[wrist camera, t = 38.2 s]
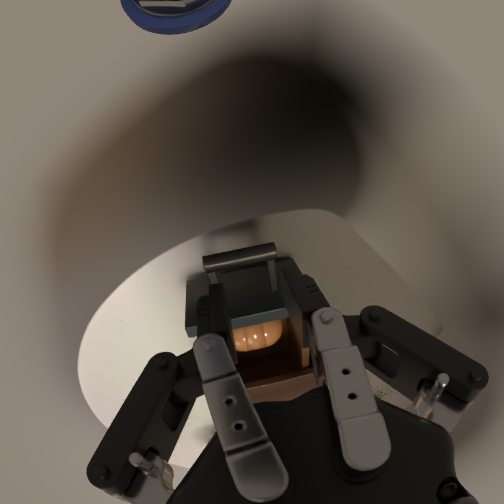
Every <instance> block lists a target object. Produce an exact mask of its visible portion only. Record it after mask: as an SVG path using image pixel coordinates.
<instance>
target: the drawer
mask: <svg viewBox="0 0 504 504" xmlns="http://www.w3.org/2000/svg"><path fill="white" fill-rule="evenodd" d="M276 258H277V250H276V246H275V244H274V242H271V243H266V244H261V245H256V246H251V247H246V248H242V249H237V250H232V251H227V252H222V253H217V254H212V255H207V256H203V258H202V259H203V265H204V269H205V272H206V273H209V276H208V277H203V278H198V279H193V280H188V281H187V285H186V310H185V329H186V332H187V334H188V337H189V338H190V337H196V336H197V308H196V303H197V301H198V300H199V298H200V296H204V295H209V287H208V285H210V284H215V283H220V282H222V283H223V287H224V291H225V295H226V299H227V303H228V307H229V312H230V317H231V323H232V329H238V328H243V327H248V326H252V325H257V324H261V323H266V322H270V321H275V320H279V319H281V320H282V323H283V331H282V335H281V337H280V338H279V340H278V341H277V342H276V343H275V344H273V345H271V346H269V347H265V348H261V349H256V350H252V351H246V352H241V351H236V352H237V357H238V363H239V364H234V365H235V368H236V370H238V372H239V374H240V376H241V379H242V381H243V383H249V382H254V381H259V380H263V379H268V378H272V377H276V376H280V375H284V374H288V373H292V372H296V371H300V370H304V369H307V368H309V347H308V348H305V349H303V347H302V345H301V343H300V340H299V338H298V335H297V333H296V331H295V328H294V326H293V324H292V321H291V319H290V316H289V314H288V312H287V309H286V307H285V305H284V301H283V297H282V288H281V278H280V270H282V269H287V268H292V267H295V269H296V271H297V272H298V274H299V276H300V275H302V273H301V271H300V269H299V268H298V266H297V264H296V263H295V261H294V259H290V260H285V261H281V262H276V263H275V261H274V259H276ZM263 261H267V265H262V266H257V267H252V268H247V269H242V270H238V271H233V272H228V273H223V274H218V275H217V274H216V271H219V270H224V269H229V268H234V267H238V266H243V265H248V264H253V263H258V262H263Z"/></svg>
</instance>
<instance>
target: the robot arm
mask: <svg viewBox="0 0 504 504" xmlns="http://www.w3.org/2000/svg"><path fill="white" fill-rule="evenodd" d="M133 1H134V3H135V4H136V6H137V7H138V8H139V9H140V10H142V11H143V12H145V13H147V14H149V15H152V16H156V17H162V18H174V17H181V16H186V15H189V14H192V13H195V12H197V11H199V10H201V9H203V8H205V7H206V6H208V5H209V4H211V3H212V2H213V1H214V0H133ZM280 278H281V288H282V297H283V301H284V305H285V307H286V309H287V312H288V314H289V316H290V319H291V321H292V324H293V326H294V328H295V331H296V333H297V335H298V338H299V340H300V343H301V345H302V347H303V349H305V348H308V347H309V348H310V350H311V360H312V365H313V371H314V377H315V382H316V388H314V389H312V390H310V391H308V392H306V393H304V394H302V395H300V396H298V397H297V398H295V399H293V400H290V401H263V402H258V403H252V401H251V399H250V397H249V394H248V392H247V390H246V388H245V385H244V383H243V381H242V379H241V376H240V374H239V372H238V370H236V368H235V365H234V364H239V363H238V357H237V352H236V346H235V340H234V335H233V329H232V323H231V317H230V312H229V307H228V303H227V299H226V295H225V291H224V287H223V283H222V282H220V283H215V284H210V285H208V287H209V295H204V296H200V298H199V300H198V301H197V303H196V308H197V339H196V340H195V342H194V344H193V348H192V349H191V350H189V351H188V352H186V353H184V354H181V355H179V356H177V357H176V356H175V355H174V354H173V353H170V352H161V353H158V354H156V355H154V356H153V357H152V358H151V359H150V360H149V362H148V363H147V365H146V367H145V368H144V370H143V372H142V373H141V375H140V377H139V378H138V380H137V381H136V383H135V385H134V386H133V388H132V390H131V391H130V393H129V395H128V396H127V398H126V400H125V401H124V403H123V405H122V406H121V408H120V410H119V412H118V413H117V415H116V417H115V418H114V420H113V422H112V423H111V425H110V427H109V429H108V430H107V432H106V434H105V436H104V437H103V439H102V441H101V443H100V444H99V446H98V448H97V450H96V451H95V453H94V455H93V457H92V458H91V460H90V462H89V464H88V466H87V477H88V479H89V481H90V482H91V483H92V484H93V485H94V486H96V487H97V488H99V489H101V490H103V491H105V492H106V493H108V494H110V495H112V496H114V497H116V498H118V499H121V500H123V501H127V502H129V503H132V504H479V503H478V502H477V500H476V499H475V498H474V497H473V496H472V495H471V494H470V493H469V492H468V491H467V490H466V489H465V488H464V487H463V486H462V485H461V484H460V483H459V481H458V479H457V477H456V473H455V467H454V443H453V440H452V437H451V435H450V434H451V433H452V431H453V430H454V428H455V427H456V425H457V424H458V422H459V421H460V419H461V417H462V416H463V414H464V413H465V411H466V410H467V409H468V408H469V407H470V405H471V404H472V403H473V402H474V400H475V399H476V398H477V396H478V395H479V393H481V391H482V390H483V389H484V387H485V386H486V385H487V383H488V379H489V376H488V372H487V370H486V369H485V367H484V366H482V365H481V364H479V363H478V362H476V361H474V360H472V359H471V358H469V357H468V356H466V355H464V354H462V353H461V352H459V351H457V350H456V349H454V348H452V347H451V346H449V345H447V344H445V343H444V342H442V341H440V340H439V339H437V338H435V337H433V336H432V335H430V334H428V333H427V332H425V331H423V330H421V329H420V328H418V327H416V326H414V325H413V324H411V323H409V322H407V321H406V320H404V319H402V318H401V317H399V316H397V315H395V314H394V313H392V312H390V311H388V310H386V309H385V308H383V307H380V306H375V305H374V306H368V307H365V308H364V309H363V310H362V311H361V313H360V315H354V316H346V315H342V314H341V313H340V312H339V311H338V310H337V309H334V308H331V307H330V305H329V303H328V302H327V300H326V299H325V297H324V295H323V294H322V292H321V291H320V289H319V287H318V286H317V284H316V283H315V281H314V279H313V278H311V277H310V276H308V275H306V274H304V275H300V276H299V274H298V272H297V271H296V269H295V267H292V268H287V269H282V270H280ZM383 344H384V345H385V346H387V347H388V348H390V349H391V350H393V351H395V352H396V353H397V354H396V353H395V352H393V351H391V350H390V349H388V348H387V347H385V346H384V345H383ZM365 368H366V369H368V370H369V371H370V372H372V373H373V374H374V375H376V376H377V377H379V378H380V379H382V380H383V381H384V382H386V383H387V384H389V385H390V386H391V387H393V388H394V389H396V390H397V391H399V392H400V393H401V394H403V395H404V396H406V397H407V398H409V399H410V400H411V401H413V402H414V409H415V410H416V413H417V415H415V414H413V413H410V412H408V411H405V410H403V409H401V408H399V407H397V406H394V405H392V404H390V403H388V402H386V401H383V400H381V399H379V398H377V397H375V396H374V395H373V392H372V389H371V385H370V382H369V379H368V376H367V373H366V370H365ZM204 394H205V397H206V400H207V404H208V407H209V410H210V413H211V416H212V419H213V422H214V425H215V428H216V432H215V434H214V435H213V437H212V438H211V440H210V441H209V443H208V444H207V446H206V447H205V448H204V450H203V451H202V453H201V454H200V456H199V457H198V459H197V460H196V461H195V463H194V464H193V466H192V467H191V468H190V470H189V471H188V473H187V474H186V475H185V477H184V478H183V480H182V481H181V482H180V484H179V485H178V486H177V488H176V489H175V490H173V487H172V481H173V477H174V474H173V469H172V467H171V466H170V465H169V464H168V461H169V459H170V456H171V454H172V452H173V450H174V448H175V445H176V443H177V441H178V439H179V436H180V434H181V432H182V430H183V427H184V425H185V423H186V421H187V419H188V416H189V414H190V412H191V410H192V407H193V405H194V403H195V400H196V398H197V397H199V396H201V395H204Z"/></svg>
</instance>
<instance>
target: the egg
mask: <svg viewBox="0 0 504 504" xmlns="http://www.w3.org/2000/svg"><path fill="white" fill-rule="evenodd" d="M282 331H283V323H282V320H281V319H279V320H275V321H270V322H266V323H261V324H257V325H252V326H248V327H243V328H238V329H233V335H234V340H235V346H236V351H241V352H246V351H252V350H256V349H261V348H265V347H269V346H271V345H273V344H275V343H276V342H277V341H278V340H279V338H280V337H281V335H282Z"/></svg>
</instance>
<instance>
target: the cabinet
mask: <svg viewBox="0 0 504 504" xmlns="http://www.w3.org/2000/svg"><path fill="white" fill-rule="evenodd" d="M244 385H245V388H246V390H247V392H248V394H249V397H250V399H251V401H252V403H258V402H263V401H290V400H293V399H295V398H297V397H298V396H300V395H302V394H304V393H306V392H308V391H310V390H312V389H314V388H316V382H315V377H314V371H313V365H312V360H311V350H310V348H309V368H307V369H304V370H300V371H296V372H292V373H288V374H284V375H280V376H276V377H272V378H268V379H263V380H259V381H254V382H249V383H244Z"/></svg>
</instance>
